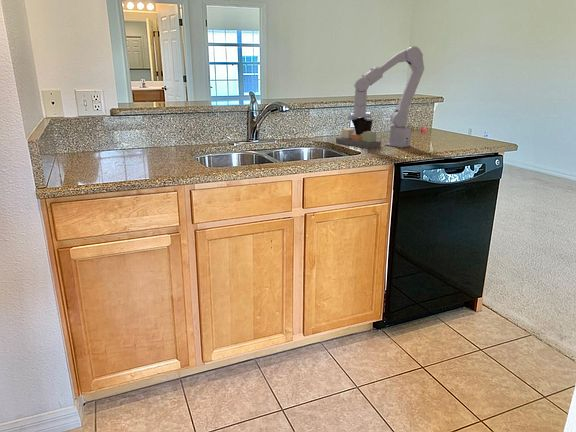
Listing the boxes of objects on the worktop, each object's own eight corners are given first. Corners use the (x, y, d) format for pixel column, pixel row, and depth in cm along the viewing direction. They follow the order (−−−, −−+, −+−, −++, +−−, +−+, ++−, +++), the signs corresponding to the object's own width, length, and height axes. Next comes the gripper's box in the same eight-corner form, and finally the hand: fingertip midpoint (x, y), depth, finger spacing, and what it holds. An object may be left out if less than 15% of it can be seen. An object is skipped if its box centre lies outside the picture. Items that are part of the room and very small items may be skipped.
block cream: (354, 137, 214) (354, 129, 213) (348, 138, 212) (348, 129, 210) (347, 136, 218) (347, 128, 216) (341, 137, 215) (341, 128, 213)
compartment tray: (380, 146, 207) (380, 141, 206) (368, 148, 201) (368, 143, 200) (347, 140, 221) (348, 136, 220) (335, 142, 215) (336, 137, 214)
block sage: (375, 141, 205) (376, 132, 204) (369, 142, 203) (370, 133, 201) (368, 140, 208) (368, 131, 207) (362, 141, 206) (362, 132, 204)
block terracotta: (364, 143, 211) (364, 134, 209) (358, 144, 208) (359, 135, 206) (357, 142, 214) (357, 133, 212) (351, 143, 211) (351, 134, 209)
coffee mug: (372, 140, 223) (374, 120, 219) (355, 140, 223) (356, 120, 219) (369, 136, 233) (370, 117, 230) (352, 136, 234) (353, 117, 230)
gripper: (363, 103, 212) (361, 132, 217) (343, 105, 203) (341, 134, 208) (375, 104, 207) (372, 133, 212) (355, 106, 198) (353, 136, 203)
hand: (358, 134), depth 209 cm, fingers closed, pressing on block terracotta
